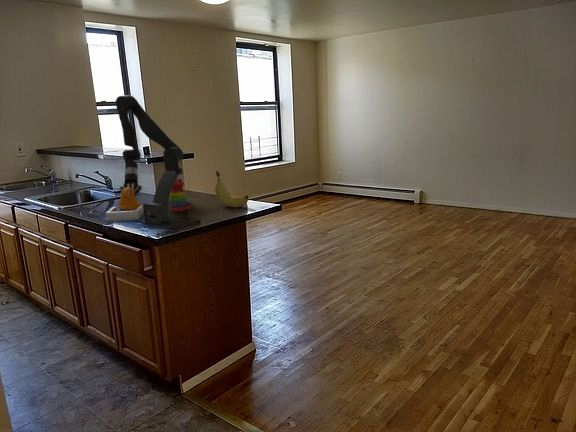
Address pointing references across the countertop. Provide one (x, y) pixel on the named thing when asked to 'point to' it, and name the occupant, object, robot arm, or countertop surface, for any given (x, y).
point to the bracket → (124, 214)
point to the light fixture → (160, 200)
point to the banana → (228, 195)
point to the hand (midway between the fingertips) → (130, 200)
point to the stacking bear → (178, 197)
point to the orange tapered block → (128, 200)
